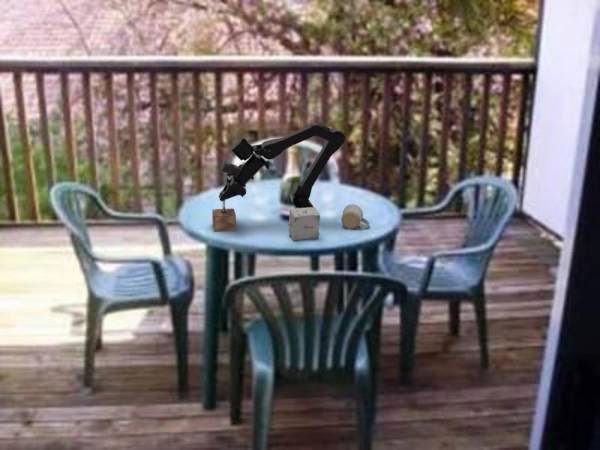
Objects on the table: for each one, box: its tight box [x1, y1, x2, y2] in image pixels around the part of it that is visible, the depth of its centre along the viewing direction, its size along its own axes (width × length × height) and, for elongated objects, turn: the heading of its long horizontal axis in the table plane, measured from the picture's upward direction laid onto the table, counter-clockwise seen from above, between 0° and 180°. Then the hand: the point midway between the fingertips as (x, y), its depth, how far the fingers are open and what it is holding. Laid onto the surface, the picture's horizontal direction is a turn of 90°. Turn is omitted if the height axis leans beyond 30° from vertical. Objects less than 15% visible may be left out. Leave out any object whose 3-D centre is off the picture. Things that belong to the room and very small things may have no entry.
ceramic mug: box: [341, 204, 371, 230], centre depth 281 cm, size 11×8×8 cm
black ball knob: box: [218, 190, 226, 213], centre depth 275 cm, size 6×6×9 cm
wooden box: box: [211, 208, 237, 232], centre depth 277 cm, size 8×8×6 cm
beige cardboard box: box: [288, 206, 321, 242], centre depth 268 cm, size 10×8×10 cm
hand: (219, 199), depth 275 cm, fingers closed on black ball knob, 3 cm apart
